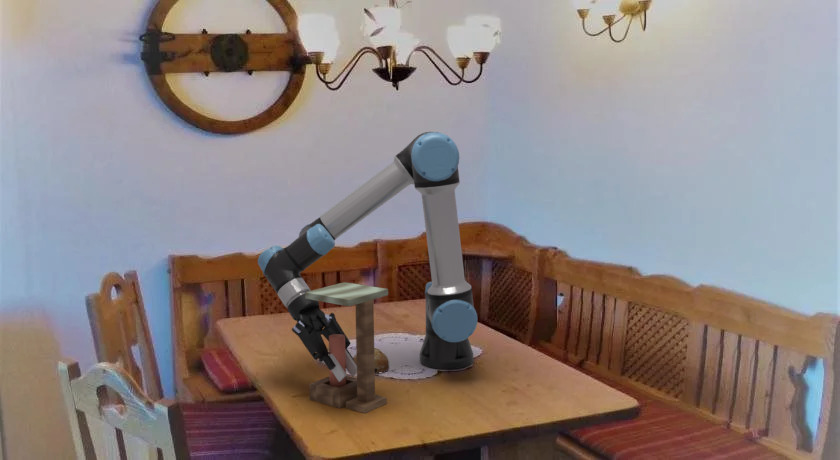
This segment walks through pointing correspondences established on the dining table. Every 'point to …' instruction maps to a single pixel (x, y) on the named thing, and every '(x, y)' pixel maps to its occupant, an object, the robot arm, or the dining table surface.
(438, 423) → the dining table surface
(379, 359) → the bread roll
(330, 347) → the peg
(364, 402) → the awning socket
